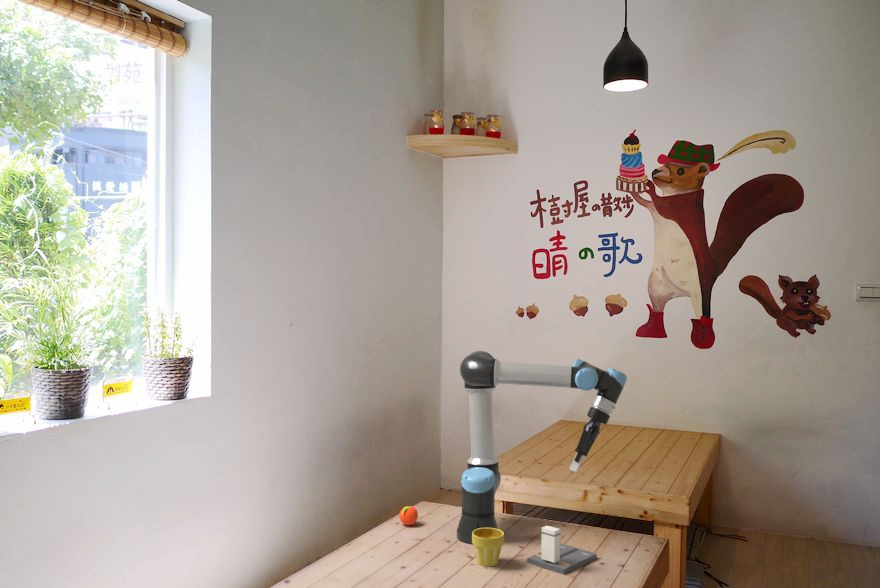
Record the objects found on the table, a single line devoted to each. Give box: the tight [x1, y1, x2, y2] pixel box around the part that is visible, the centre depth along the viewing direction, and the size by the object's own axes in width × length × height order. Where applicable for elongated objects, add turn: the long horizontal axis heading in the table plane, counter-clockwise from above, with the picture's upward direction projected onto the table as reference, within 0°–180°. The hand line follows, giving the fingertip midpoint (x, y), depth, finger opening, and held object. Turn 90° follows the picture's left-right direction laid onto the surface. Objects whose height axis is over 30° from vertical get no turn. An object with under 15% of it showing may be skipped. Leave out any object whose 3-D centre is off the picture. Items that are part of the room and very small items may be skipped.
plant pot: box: [472, 528, 505, 567], centre depth 240 cm, size 10×10×10 cm
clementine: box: [399, 505, 419, 526], centre depth 276 cm, size 8×7×7 cm
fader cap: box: [540, 525, 561, 563], centre depth 237 cm, size 5×3×10 cm, turn 46°
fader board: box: [526, 542, 598, 575], centre depth 242 cm, size 14×19×2 cm
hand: (573, 470), depth 264 cm, fingers closed
